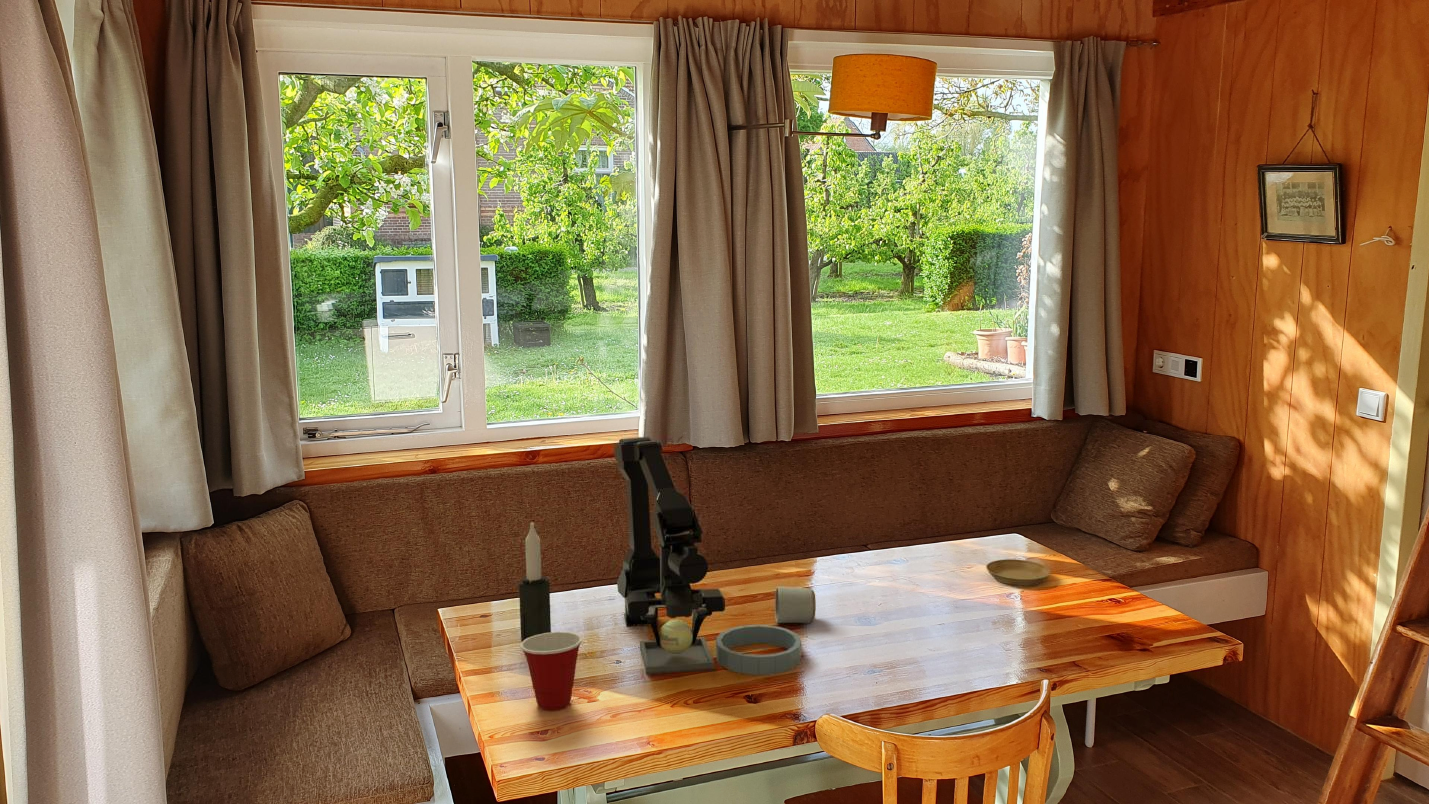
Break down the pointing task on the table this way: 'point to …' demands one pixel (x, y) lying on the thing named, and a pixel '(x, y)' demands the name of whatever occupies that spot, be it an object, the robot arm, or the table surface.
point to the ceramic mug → (794, 605)
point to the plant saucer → (1018, 572)
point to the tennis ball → (675, 636)
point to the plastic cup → (552, 667)
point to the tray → (676, 658)
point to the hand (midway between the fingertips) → (675, 644)
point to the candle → (534, 592)
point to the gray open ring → (758, 662)
